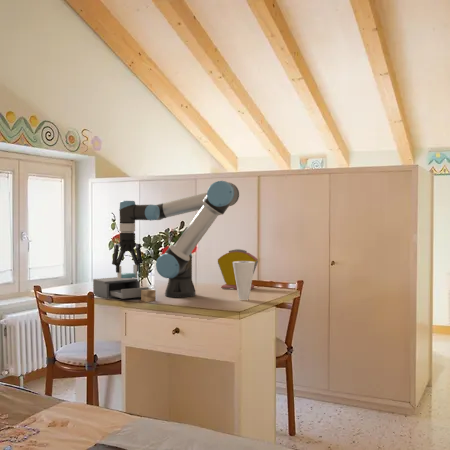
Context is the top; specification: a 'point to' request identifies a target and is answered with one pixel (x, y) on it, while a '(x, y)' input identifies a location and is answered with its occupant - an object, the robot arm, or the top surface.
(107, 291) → the housing
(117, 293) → the tray
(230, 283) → the yellow arched part
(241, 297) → the cup
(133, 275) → the disc
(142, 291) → the pedestal
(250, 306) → the top surface
